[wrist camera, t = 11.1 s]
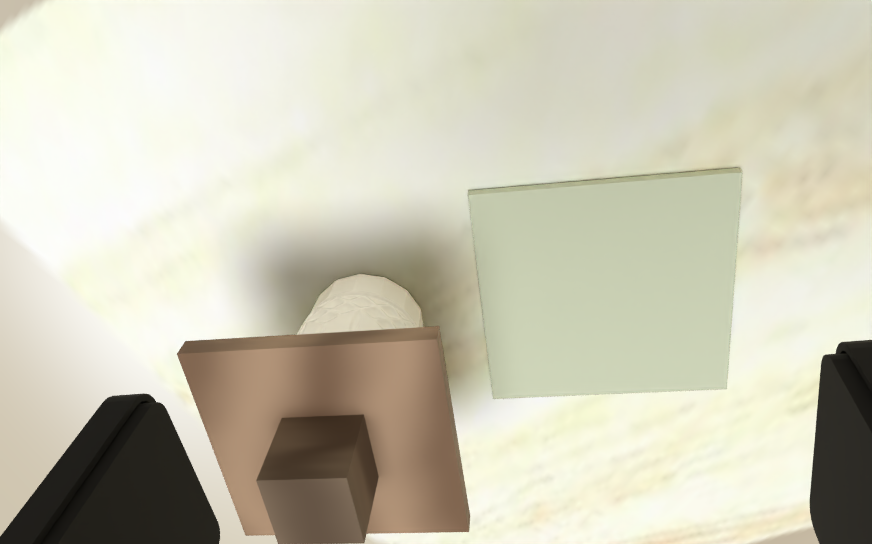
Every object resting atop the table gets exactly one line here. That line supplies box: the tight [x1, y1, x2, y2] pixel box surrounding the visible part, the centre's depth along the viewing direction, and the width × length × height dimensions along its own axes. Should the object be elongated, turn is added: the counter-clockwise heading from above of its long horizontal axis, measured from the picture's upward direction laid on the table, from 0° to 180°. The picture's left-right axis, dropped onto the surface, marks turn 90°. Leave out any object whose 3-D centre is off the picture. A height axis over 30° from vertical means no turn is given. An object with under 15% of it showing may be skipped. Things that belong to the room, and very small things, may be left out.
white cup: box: [297, 274, 424, 335], centre depth 41 cm, size 8×8×10 cm
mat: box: [468, 168, 742, 399], centre depth 43 cm, size 14×14×1 cm
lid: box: [177, 326, 470, 544], centre depth 35 cm, size 12×12×5 cm
